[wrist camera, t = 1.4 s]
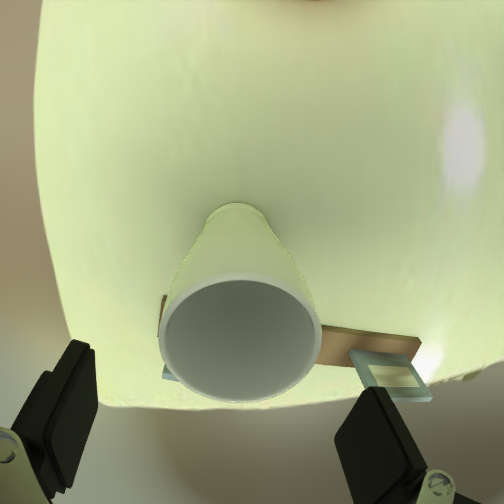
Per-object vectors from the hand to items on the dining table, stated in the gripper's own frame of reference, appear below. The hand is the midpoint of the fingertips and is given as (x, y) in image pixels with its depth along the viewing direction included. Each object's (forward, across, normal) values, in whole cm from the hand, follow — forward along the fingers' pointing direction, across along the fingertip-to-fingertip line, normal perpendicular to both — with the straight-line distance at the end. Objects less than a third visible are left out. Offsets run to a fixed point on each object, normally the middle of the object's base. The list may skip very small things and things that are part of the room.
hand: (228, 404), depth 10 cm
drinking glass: (+18, -1, 0) cm, 18 cm away
